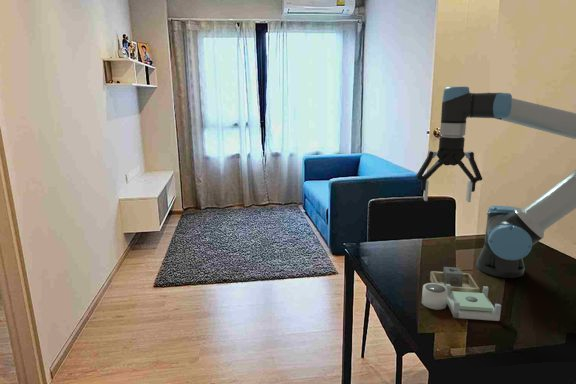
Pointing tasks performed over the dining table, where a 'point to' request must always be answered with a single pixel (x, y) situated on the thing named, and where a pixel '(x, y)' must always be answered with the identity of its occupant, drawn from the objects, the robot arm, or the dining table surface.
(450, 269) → the dice cube
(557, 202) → the robot arm
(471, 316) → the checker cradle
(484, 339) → the dining table surface
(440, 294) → the cup
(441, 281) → the trough
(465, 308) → the plate
